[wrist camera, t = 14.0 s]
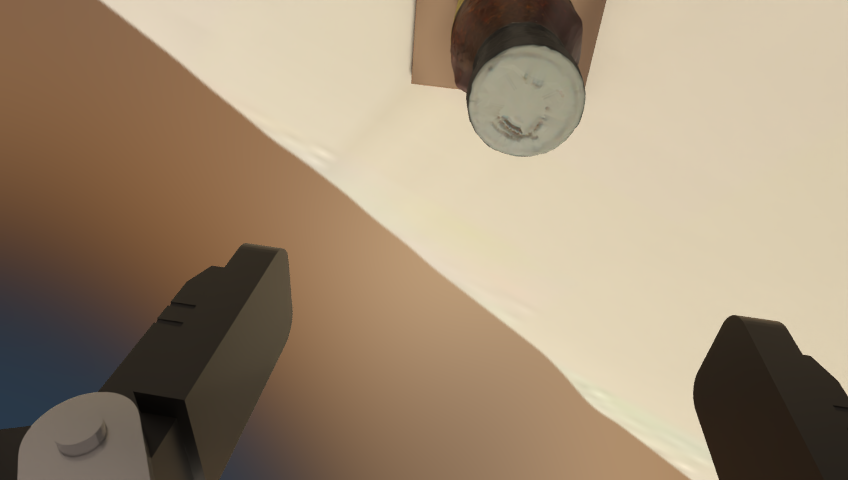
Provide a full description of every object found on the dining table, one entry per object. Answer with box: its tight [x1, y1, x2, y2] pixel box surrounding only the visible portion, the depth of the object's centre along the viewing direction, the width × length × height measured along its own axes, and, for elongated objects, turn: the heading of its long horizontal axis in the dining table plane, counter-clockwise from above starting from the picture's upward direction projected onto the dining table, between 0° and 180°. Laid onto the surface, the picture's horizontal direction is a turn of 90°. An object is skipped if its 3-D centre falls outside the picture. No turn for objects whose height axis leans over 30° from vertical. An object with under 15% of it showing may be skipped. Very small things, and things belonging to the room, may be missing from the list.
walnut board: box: [411, 0, 606, 89], centre depth 36 cm, size 12×12×1 cm
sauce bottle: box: [450, 0, 585, 157], centre depth 27 cm, size 6×6×20 cm
